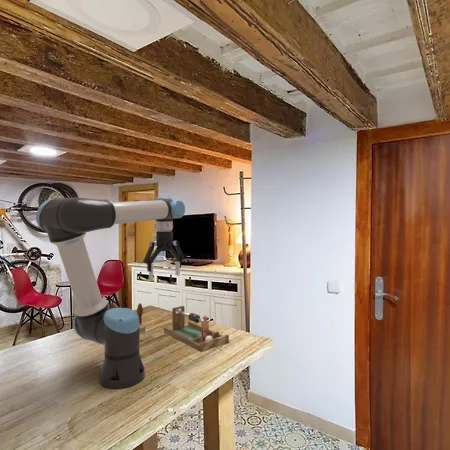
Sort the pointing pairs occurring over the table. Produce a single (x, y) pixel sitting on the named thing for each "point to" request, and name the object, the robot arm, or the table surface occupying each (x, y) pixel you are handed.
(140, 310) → the hand bell
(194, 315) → the kicker
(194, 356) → the table surface
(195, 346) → the pitch
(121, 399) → the table surface
